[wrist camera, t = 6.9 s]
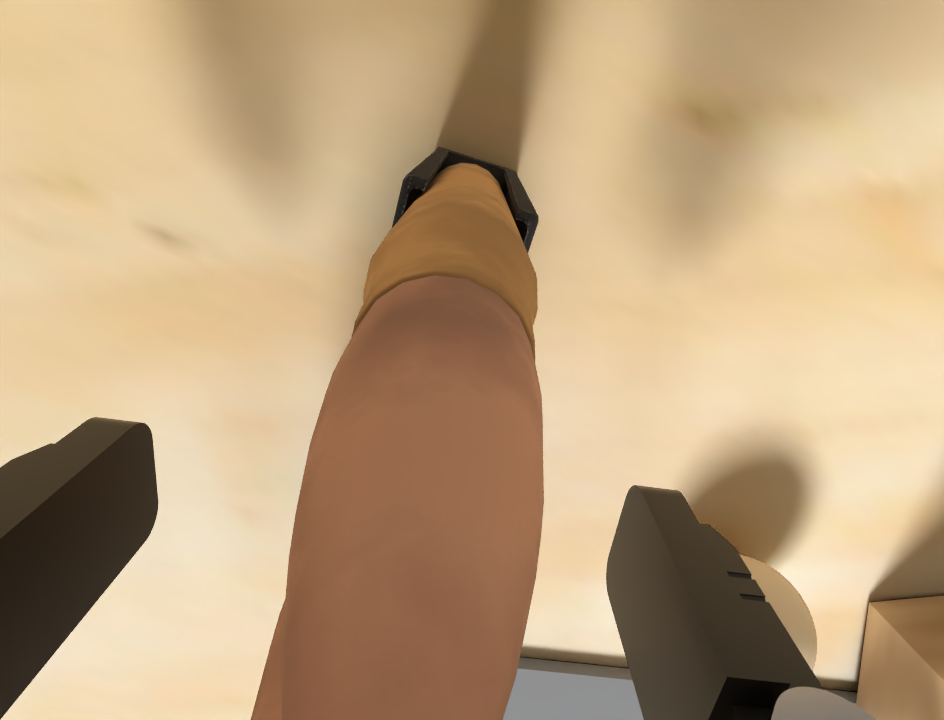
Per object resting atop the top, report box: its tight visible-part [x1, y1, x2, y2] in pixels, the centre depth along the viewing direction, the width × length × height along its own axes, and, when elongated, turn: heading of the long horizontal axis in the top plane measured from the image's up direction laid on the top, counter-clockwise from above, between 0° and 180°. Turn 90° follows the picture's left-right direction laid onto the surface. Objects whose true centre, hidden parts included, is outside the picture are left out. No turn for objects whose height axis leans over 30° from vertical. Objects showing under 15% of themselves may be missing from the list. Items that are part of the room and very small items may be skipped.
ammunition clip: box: [251, 147, 544, 720], centre depth 8 cm, size 11×2×12 cm, turn 163°
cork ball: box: [739, 554, 817, 670], centre depth 14 cm, size 4×4×4 cm
